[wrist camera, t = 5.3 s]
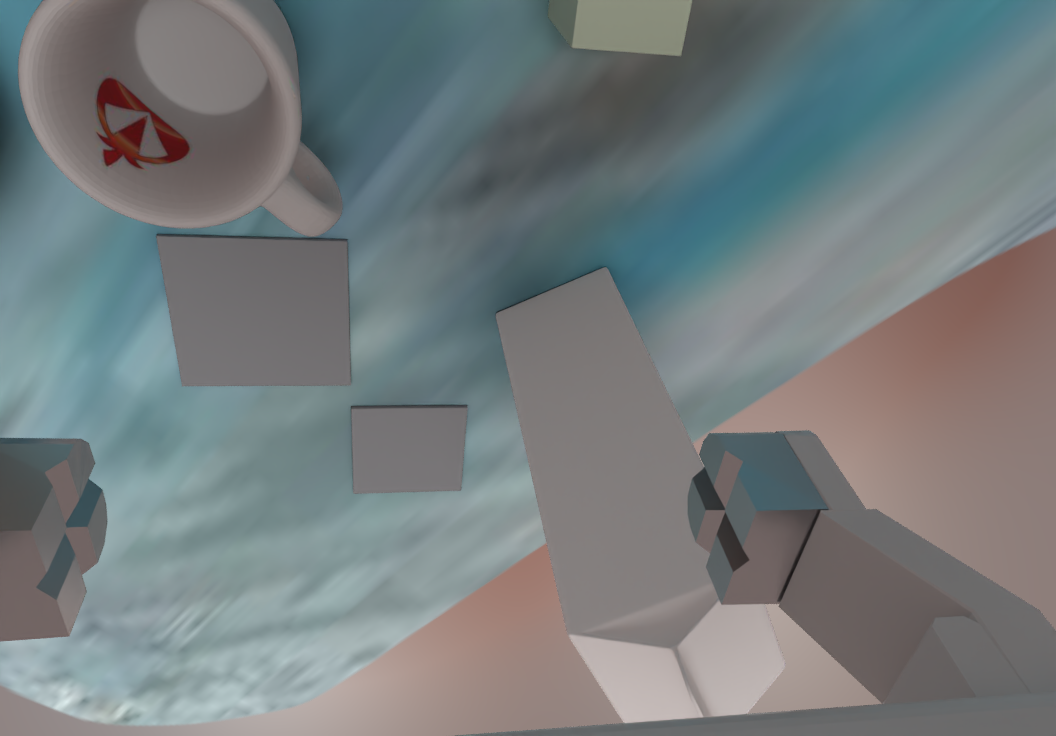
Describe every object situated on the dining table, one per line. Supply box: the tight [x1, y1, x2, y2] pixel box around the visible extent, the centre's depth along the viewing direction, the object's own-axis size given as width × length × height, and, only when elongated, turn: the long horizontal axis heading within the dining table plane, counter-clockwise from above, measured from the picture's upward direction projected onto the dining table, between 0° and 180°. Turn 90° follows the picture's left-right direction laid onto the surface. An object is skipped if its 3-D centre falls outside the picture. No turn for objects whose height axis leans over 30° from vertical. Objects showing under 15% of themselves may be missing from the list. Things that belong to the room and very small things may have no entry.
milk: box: [496, 267, 786, 723], centre depth 32 cm, size 6×6×22 cm
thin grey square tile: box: [156, 234, 351, 386], centre depth 37 cm, size 8×8×1 cm
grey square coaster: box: [351, 405, 467, 494], centre depth 43 cm, size 6×6×1 cm
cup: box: [18, 0, 343, 237], centre depth 28 cm, size 11×8×8 cm
